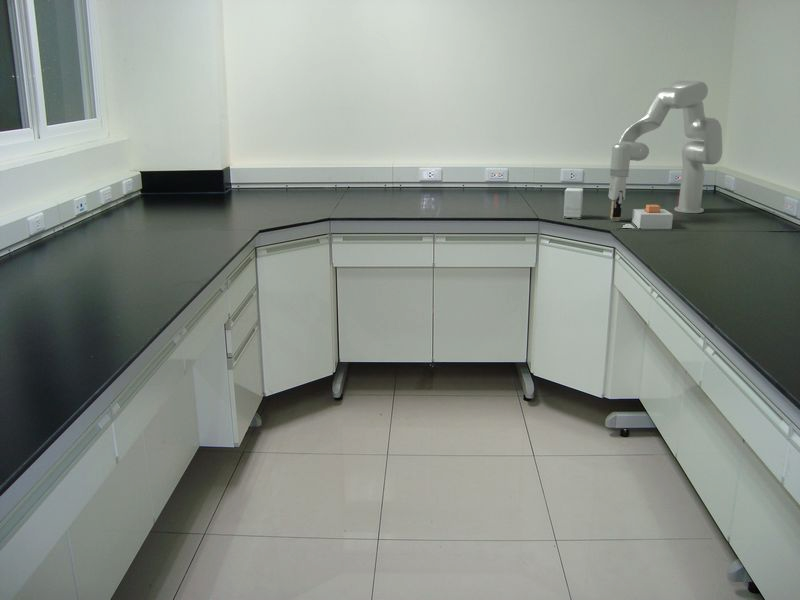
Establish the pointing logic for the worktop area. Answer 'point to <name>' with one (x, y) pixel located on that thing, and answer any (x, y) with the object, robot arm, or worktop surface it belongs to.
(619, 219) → the tan wooden block
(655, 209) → the orange cube block
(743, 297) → the worktop surface
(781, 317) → the worktop surface
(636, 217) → the box
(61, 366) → the worktop surface
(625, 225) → the pad
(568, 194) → the supplement box
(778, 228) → the worktop surface
